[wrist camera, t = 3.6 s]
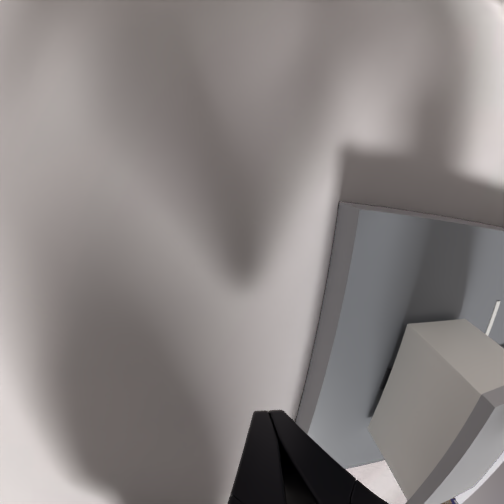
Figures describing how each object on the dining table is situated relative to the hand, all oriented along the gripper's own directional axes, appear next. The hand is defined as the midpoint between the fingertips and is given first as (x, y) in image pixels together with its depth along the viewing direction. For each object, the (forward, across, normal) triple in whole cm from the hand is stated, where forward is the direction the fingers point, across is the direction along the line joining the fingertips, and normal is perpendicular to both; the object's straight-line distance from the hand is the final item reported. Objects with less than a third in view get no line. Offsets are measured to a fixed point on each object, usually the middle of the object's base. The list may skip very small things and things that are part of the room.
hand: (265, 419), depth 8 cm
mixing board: (+3, -13, 0) cm, 14 cm away
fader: (+1, -6, 0) cm, 6 cm away
